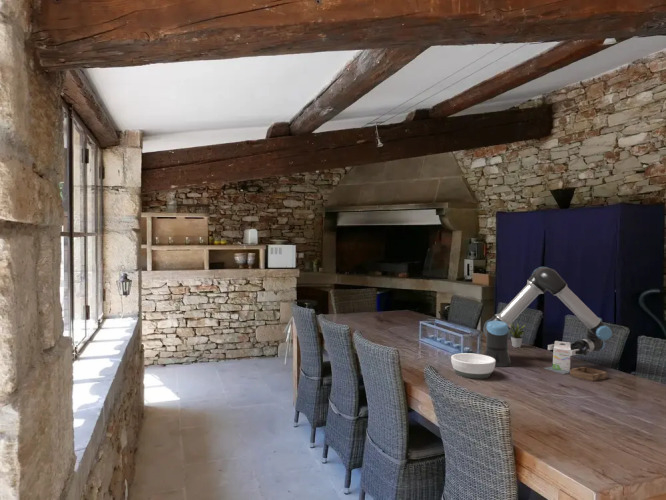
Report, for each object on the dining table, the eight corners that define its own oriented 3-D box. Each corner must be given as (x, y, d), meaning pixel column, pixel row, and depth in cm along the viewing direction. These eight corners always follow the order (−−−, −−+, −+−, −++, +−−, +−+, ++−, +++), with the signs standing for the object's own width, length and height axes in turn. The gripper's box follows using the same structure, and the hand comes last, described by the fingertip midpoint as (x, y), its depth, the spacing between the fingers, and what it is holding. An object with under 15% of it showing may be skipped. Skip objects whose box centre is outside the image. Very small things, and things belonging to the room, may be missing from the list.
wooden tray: (592, 381, 247) (592, 375, 247) (570, 374, 258) (570, 369, 258) (607, 378, 253) (607, 372, 253) (584, 371, 264) (584, 366, 264)
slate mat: (564, 374, 259) (564, 373, 259) (544, 368, 269) (544, 367, 269) (578, 371, 265) (578, 370, 265) (558, 366, 275) (558, 365, 275)
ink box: (552, 369, 267) (553, 342, 266) (553, 367, 271) (553, 340, 271) (570, 371, 263) (570, 344, 262) (570, 369, 267) (571, 342, 267)
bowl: (497, 381, 244) (498, 365, 244) (451, 378, 249) (451, 362, 248) (492, 369, 266) (492, 354, 266) (450, 366, 271) (450, 351, 270)
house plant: (501, 347, 320) (501, 322, 320) (504, 343, 333) (505, 319, 332) (524, 350, 314) (525, 324, 313) (527, 345, 326) (527, 321, 325)
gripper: (604, 357, 265) (580, 362, 255) (563, 348, 287) (539, 352, 276) (605, 344, 265) (581, 348, 255) (563, 335, 287) (539, 339, 276)
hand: (559, 350), depth 265 cm, fingers open, 13 cm apart
